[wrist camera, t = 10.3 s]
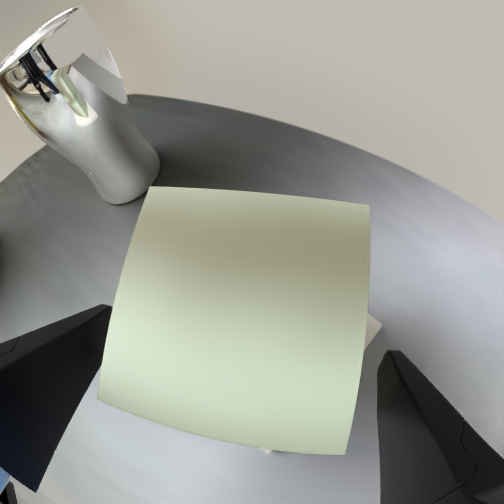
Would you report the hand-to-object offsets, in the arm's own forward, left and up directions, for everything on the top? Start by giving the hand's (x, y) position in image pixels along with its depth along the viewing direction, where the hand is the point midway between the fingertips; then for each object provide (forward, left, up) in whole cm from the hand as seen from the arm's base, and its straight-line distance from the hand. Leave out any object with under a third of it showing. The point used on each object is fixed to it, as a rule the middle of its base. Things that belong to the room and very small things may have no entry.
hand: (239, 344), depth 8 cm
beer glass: (+17, -3, -9) cm, 19 cm away
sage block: (0, -1, -8) cm, 8 cm away
